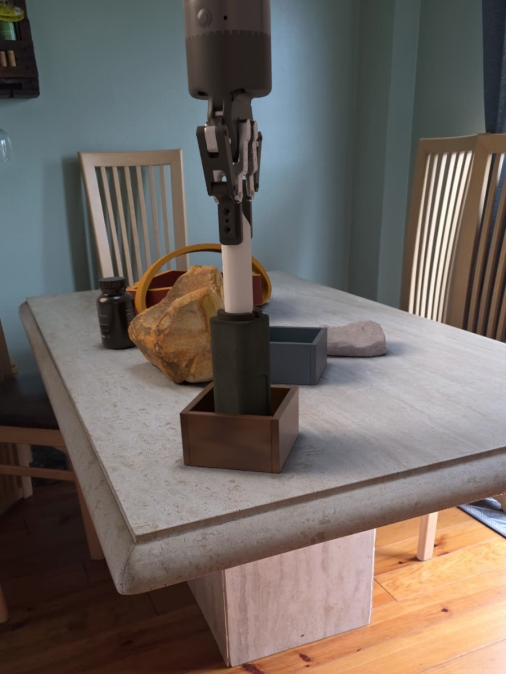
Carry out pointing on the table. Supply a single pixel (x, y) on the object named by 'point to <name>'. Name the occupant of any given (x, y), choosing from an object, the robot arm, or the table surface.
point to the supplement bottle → (115, 312)
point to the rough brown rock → (182, 326)
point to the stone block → (356, 339)
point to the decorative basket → (159, 285)
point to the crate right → (297, 354)
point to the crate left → (240, 433)
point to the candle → (240, 339)
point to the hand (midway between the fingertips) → (236, 241)
